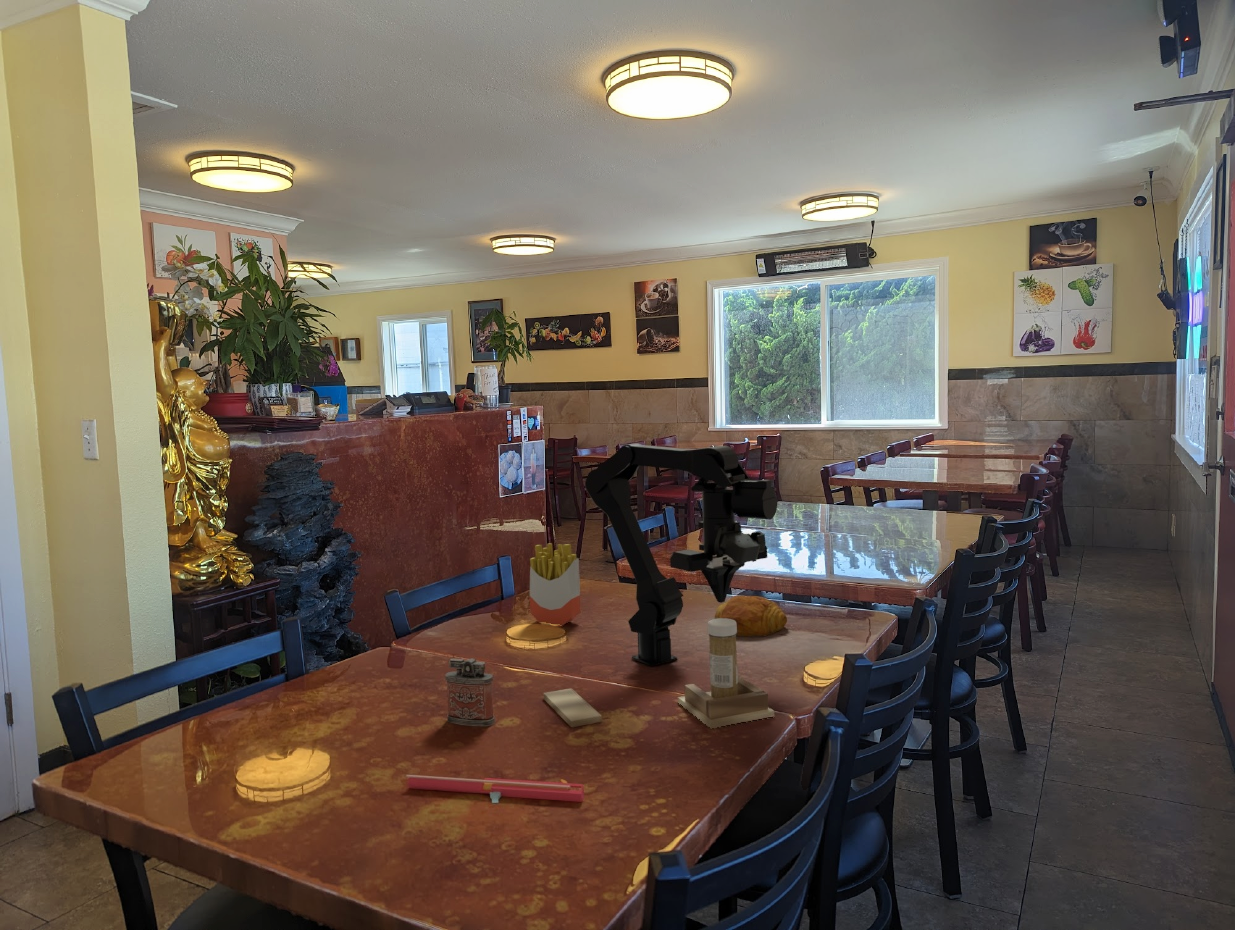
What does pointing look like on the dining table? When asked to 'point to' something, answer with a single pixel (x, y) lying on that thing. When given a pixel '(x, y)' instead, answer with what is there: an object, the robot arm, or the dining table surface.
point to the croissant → (753, 615)
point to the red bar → (500, 787)
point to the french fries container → (554, 585)
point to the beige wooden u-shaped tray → (727, 705)
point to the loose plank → (572, 707)
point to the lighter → (469, 693)
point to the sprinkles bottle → (723, 657)
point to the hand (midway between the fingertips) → (721, 602)
